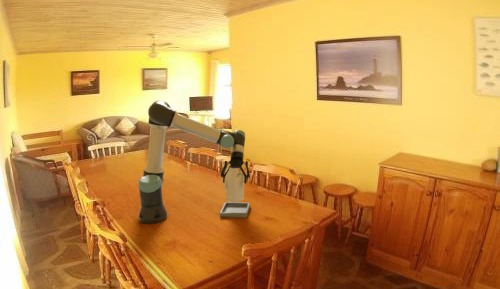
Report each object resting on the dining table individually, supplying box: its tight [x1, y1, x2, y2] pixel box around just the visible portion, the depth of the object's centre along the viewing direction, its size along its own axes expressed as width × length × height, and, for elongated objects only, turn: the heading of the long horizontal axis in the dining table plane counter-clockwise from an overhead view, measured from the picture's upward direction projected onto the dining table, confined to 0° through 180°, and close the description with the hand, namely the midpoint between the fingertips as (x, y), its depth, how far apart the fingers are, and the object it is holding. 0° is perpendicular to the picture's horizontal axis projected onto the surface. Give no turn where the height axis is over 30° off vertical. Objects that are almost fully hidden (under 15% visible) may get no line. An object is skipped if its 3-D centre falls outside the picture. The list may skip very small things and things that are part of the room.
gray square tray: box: [219, 201, 251, 219], centre depth 175 cm, size 15×15×2 cm
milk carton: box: [225, 167, 245, 203], centre depth 171 cm, size 7×7×19 cm
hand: (234, 188), depth 169 cm, fingers closed on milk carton, 10 cm apart
